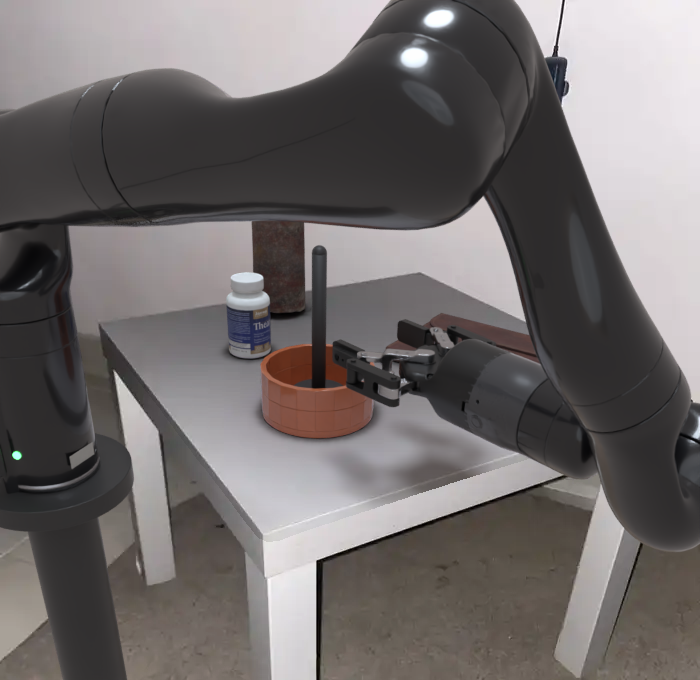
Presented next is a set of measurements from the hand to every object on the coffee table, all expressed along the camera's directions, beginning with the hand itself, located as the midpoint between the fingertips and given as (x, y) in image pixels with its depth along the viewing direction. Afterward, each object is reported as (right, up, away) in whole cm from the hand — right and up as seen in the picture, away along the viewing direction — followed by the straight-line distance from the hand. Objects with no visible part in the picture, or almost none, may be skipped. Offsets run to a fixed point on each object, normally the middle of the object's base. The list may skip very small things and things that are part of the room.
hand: (368, 339), depth 75 cm
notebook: (+15, +1, +24) cm, 28 cm away
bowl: (-5, -6, +10) cm, 13 cm away
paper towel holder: (-5, -6, +10) cm, 13 cm away
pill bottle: (-15, +2, +24) cm, 28 cm away
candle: (-12, +10, +37) cm, 40 cm away
